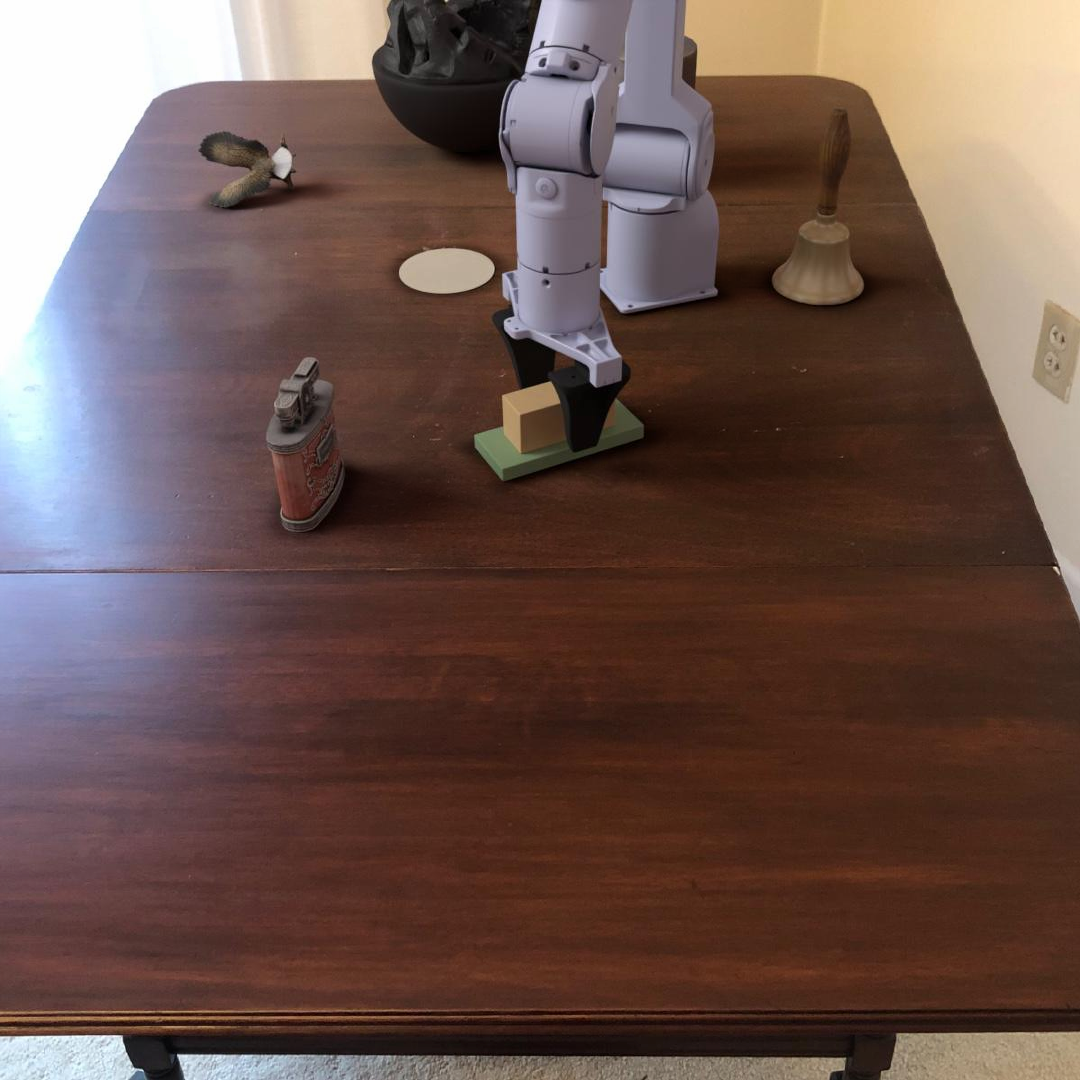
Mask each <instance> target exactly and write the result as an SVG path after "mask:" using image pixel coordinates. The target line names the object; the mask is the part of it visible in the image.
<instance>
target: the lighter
mask: <svg viewBox="0 0 1080 1080" xmlns="http://www.w3.org/2000/svg"><path fill="white" fill-rule="evenodd" d="M320 376H321V368H320V362H319V360H318V359H316V358H315V357H308V356H307V357H304V358H303V360H302V361H301V362H300V364H299V365H298V367H297V368H296V370H295V371H294V373H293V375H291V377H290V378H289V379H286V378H284V379H283V378H282V380H281V382H280V384H279V388H278V395H277V396H278V397H276V399H275V401H274V403H273V406H274V413H273V415H272V417H271V419H270V421H269V424H268V427H267V430H266V433H265V440H266V445H267V448H268V449H269V451H271V456H272V461H273V467H274V471H275V477H276V482H277V489H278V494H279V499H280V504H281V508H280V512H279V513H280V520H281V523H282V524H281V525H282V526H283V528H284V529H285V530H288V531H290V532H294V533H303V532H308V531H310V530H314V528H316V527H317V526H318V525H319V524H320V523H321V521H322V520H323V519H324V518H325V517H326V516H327V515H328V514H329V512H330V511H331V509H332V508H333V506H334V505H335V503H336V502H337V500H338V497H339V495H340V492H341V490H342V488H343V485H344V480H345V477H346V472H345V464H344V460H343V459H342V458H341V454H340V448H339V439H338V433H337V427H336V426H337V425H336V419H335V412H334V406H333V404H334V401H335V392H334V386H333V384H332V383H331V382H329V381H326V380H323V379H319V377H320Z"/></svg>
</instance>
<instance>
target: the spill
mask: <svg viewBox="0 0 1080 1080" xmlns="http://www.w3.org/2000/svg"><path fill="white" fill-rule="evenodd" d="M495 271H496V270H495V264H494V263H493V261H492V260H491V259H490V258H489V257H487V256H486V255H485V254H482V253H480V252H477V251H474V250H471V249H465V248H457V247H456V248H455V247H454V248H453V247H448V248H447V247H446V248H437V249H431V250H426V251H423V252H420V253H417V254H414V255H413V256H411V257H409V258H407V259H406V260H405V261H404V262H403V263H402V264H401V266H400V267H399V272H398V276H399V278H400V280H401V281H402V282H403V284H405V285H406V286H407V287H409V288H411V289H414V290H416V291H418V292H422V293H427V294H435V295H437V294H439V295H449V294H458V293H464V292H468V291H471V290H474V289H477V288H479V287H482V286H483V285H484V284H486V283H487V282H489V281H490V280H491V279H492V277H494V274H495Z"/></svg>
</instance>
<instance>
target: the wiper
mask: <svg viewBox="0 0 1080 1080" xmlns="http://www.w3.org/2000/svg"><path fill="white" fill-rule="evenodd" d="M501 399H502V423H503V424H502V425H503V426H500V427H496V428H492V429H489V430H486V431H481V432H479V433H476V434H474V435H473V437H474V448H475V449H476V450H477V452H478V453H479V454H480V456H481V457H482V458H483V459H484V460H485V461H486V463H487V464H488V465H489V467H491V469H492V470H493V471H494V472H495V474H496V475H497V476H498V477H499V479H500V480H501V481H502V482H507V481H510V480H514V479H516V478H520V477H523V476H526V475H530V474H532V473H535V472H539V471H541V470H542V471H543V470H545V469H548V468H552V467H554V466H558V465H560V464H564V463H567V462H570V461H573V460H577V459H580V458H583V457H586V456H590V455H594V454H596V453H599V452H602V451H603V452H604V451H605V450H609V449H613V448H615V447H618V446H621V445H625V444H628V443H631V442H635V441H637V440H640V439H643V438H644V433H645V432H644V431H645V426H644V425H645V424H643V423H642V422H641V421H640V420H639V419H638V418H637V417H636V416H635V415H634V413H632V412H631V411H630V410H629V408H627V407H626V405H624V404H623V403H622V402H621V401H620V400H619V399H617V397H616V398H615V400H614V402H613V404H612V406H611V408H610V410H609V413H608V415H607V418H606V420H605V423H604V426H603V430H602V433H601V436H600V439H599V442H598V444H597V446H596V447H592V448H589V449H586V450H583V451H580V452H576V453H574V452H572V451H571V450H570V448H569V446H568V443H567V439H566V434H565V426H564V417H563V411H562V407H561V403H560V400H559V397H558V395H557V392H556V390H555V388H554V386H553V384H552V383H551V381H550V382H547V383H543V384H540V385H536V386H533V387H529V388H526V389H522V390H520V389H519V390H516V391H511V392H509V393H508V392H507V393H505V394H502V398H501Z"/></svg>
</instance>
